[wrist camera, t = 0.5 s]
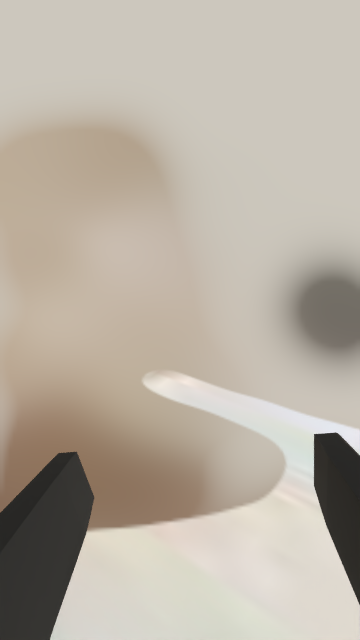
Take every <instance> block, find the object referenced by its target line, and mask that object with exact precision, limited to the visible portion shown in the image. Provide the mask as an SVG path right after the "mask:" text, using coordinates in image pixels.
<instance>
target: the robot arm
mask: <svg viewBox="0 0 360 640" xmlns="http://www.w3.org/2000/svg"><path fill="white" fill-rule="evenodd" d="M314 487H315V490H316V493H317V497H318V500H319V503H320V507H321V510H322V513H323V516H324V519H325V522H326V525H327V528H328V530H329V533H330V535H331V538H332V540H333V542H334V545H335V547H336V550H337V552H338V554H339V557H340V559H341V562H342V564H343V566H344V569H345V571H346V573H347V576H348V578H349V581H350V583H351V585H352V588H353V590H354V592H355V595H356V597H357V600H358V602H359V604H360V455H359V454H358V453H357V452H356V451H355V450H354V449H353V448H352V447H351V446H350V445H349V444H348V443H347V442H346V441H345V440H344V439H343V438H342V437H341V436H340V435H339V434H338V433H325V434H314ZM93 500H94V495H93V493H92V490H91V488H90V485H89V483H88V480H87V478H86V475H85V472H84V469H83V467H82V464H81V462H80V459H79V457H78V454H77V452H70V453H69V452H68V453H59V454H57V456H55V457H54V458H53V459H52V460H51V461H50V462H49V463H48V464H47V465H46V466H45V467H44V469H43V470H42V471H41V472H40V473H39V474H38V475H37V476H36V477H35V478H34V479H33V480H32V481H31V482H30V483H29V484H28V485H27V486H26V487H25V488H24V489H23V490H22V491H21V492H20V493H19V494H18V495H17V496H16V497H15V499H14V500H13V501H12V502H11V503H10V504H9V505H8V506H7V507H6V508H5V509H4V510H3V511H2V512H1V513H0V640H50V637H51V634H52V631H53V628H54V625H55V622H56V619H57V616H58V613H59V610H60V608H61V605H62V602H63V599H64V596H65V593H66V590H67V587H68V585H69V582H70V579H71V576H72V573H73V570H74V567H75V565H76V562H77V559H78V556H79V553H80V550H81V547H82V544H83V541H84V538H85V535H86V531H87V527H88V523H89V519H90V515H91V510H92V505H93Z"/></svg>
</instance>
